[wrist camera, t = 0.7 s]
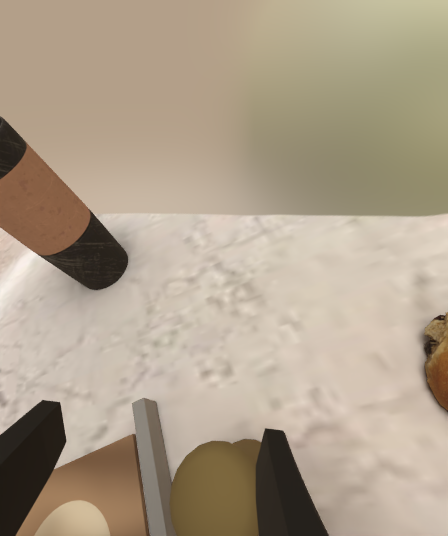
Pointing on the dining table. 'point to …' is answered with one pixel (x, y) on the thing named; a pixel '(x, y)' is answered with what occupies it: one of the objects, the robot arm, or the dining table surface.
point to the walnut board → (92, 496)
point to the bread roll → (438, 358)
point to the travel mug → (53, 217)
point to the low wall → (153, 467)
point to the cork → (216, 490)
